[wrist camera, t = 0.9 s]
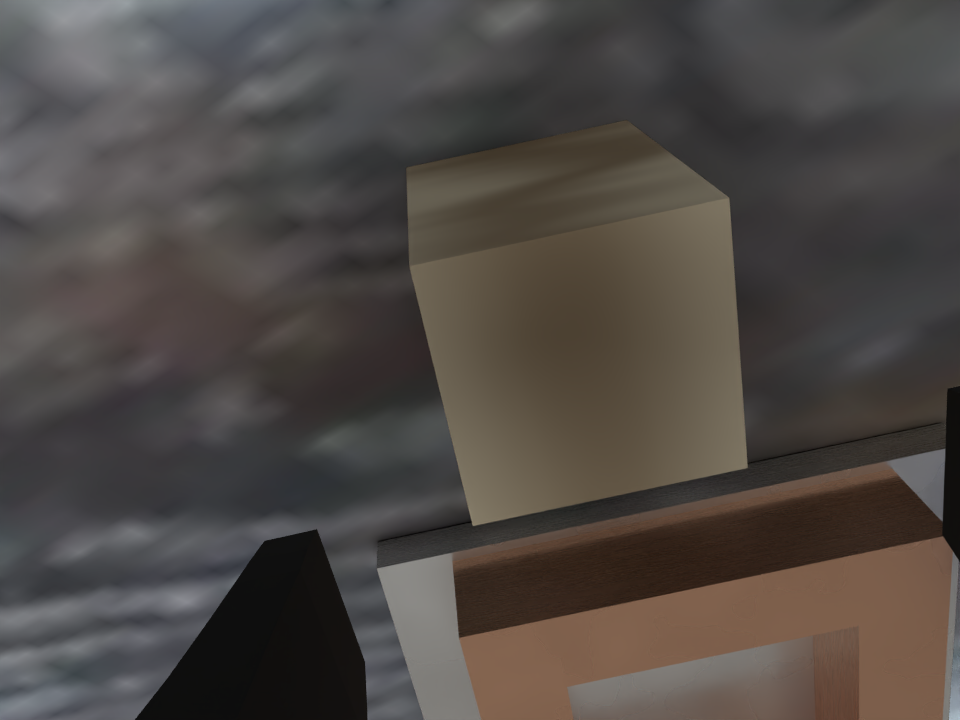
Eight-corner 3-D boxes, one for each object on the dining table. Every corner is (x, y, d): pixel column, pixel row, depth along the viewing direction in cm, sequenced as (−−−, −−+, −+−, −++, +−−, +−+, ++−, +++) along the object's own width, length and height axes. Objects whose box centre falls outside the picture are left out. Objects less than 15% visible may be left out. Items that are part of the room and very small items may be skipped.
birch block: (626, 119, 17) (729, 198, 12) (650, 322, 19) (747, 468, 14) (406, 167, 17) (408, 266, 12) (452, 364, 19) (472, 526, 14)
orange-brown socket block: (942, 423, 21) (1038, 507, 18) (926, 736, 26) (999, 845, 23) (377, 542, 21) (373, 646, 18) (466, 831, 26) (476, 953, 23)
